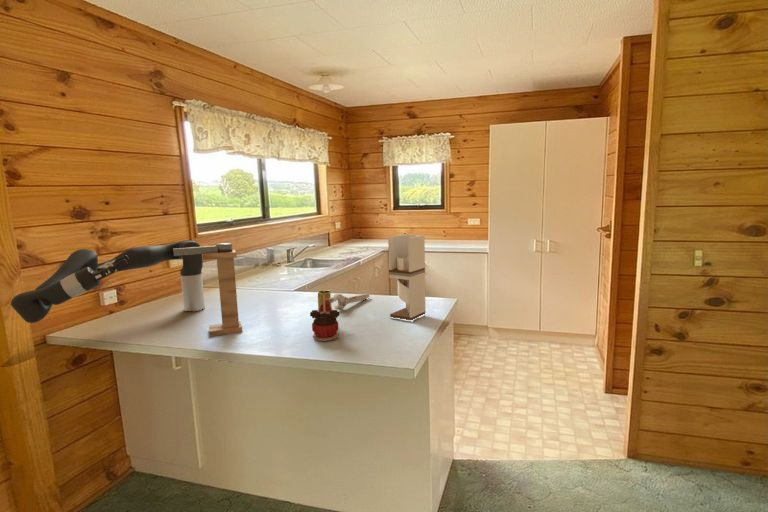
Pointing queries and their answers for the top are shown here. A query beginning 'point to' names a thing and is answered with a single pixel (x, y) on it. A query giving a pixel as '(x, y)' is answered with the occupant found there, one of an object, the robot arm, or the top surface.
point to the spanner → (204, 249)
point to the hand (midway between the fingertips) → (127, 259)
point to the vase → (320, 297)
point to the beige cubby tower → (408, 273)
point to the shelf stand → (226, 294)
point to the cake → (325, 321)
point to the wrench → (348, 300)
